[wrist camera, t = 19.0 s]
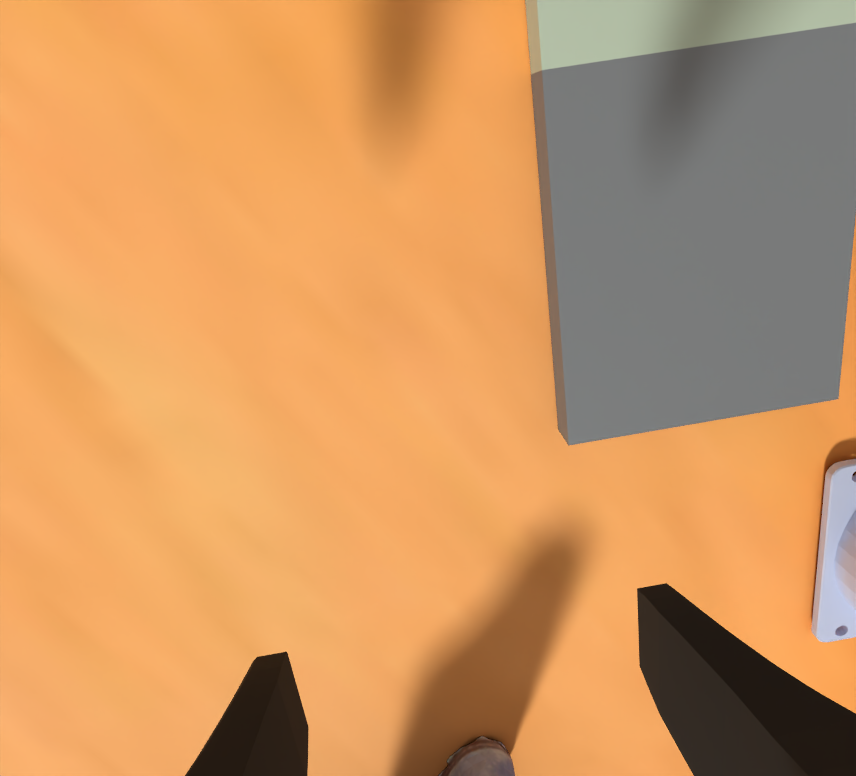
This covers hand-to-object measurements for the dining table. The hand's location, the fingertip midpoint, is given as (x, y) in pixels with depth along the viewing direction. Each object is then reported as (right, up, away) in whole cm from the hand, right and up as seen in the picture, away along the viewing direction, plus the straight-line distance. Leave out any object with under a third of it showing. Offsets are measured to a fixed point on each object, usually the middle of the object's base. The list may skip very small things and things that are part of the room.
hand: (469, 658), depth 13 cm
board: (+6, +15, +5) cm, 17 cm away
